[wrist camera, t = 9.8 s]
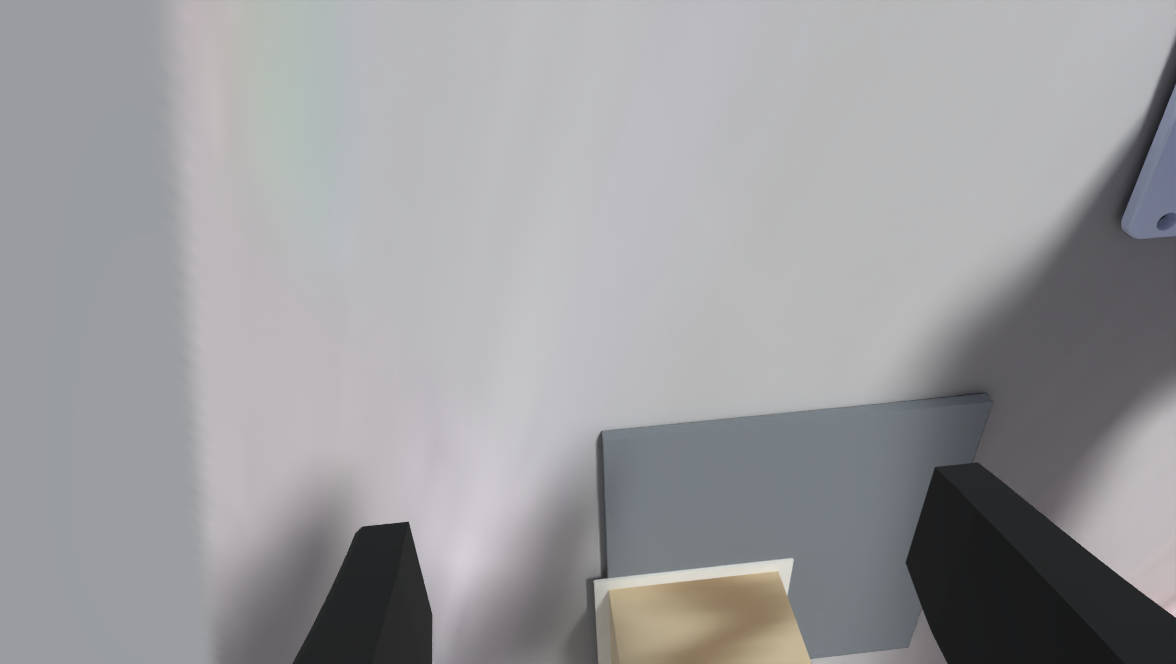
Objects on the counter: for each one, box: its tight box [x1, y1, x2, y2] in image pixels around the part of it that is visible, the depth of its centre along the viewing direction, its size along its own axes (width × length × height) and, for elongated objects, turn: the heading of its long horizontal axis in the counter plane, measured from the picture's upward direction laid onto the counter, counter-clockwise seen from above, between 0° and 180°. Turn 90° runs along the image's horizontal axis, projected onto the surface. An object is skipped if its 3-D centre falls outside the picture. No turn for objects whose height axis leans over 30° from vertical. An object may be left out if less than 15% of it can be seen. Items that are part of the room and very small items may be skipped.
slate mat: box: [594, 393, 993, 664], centre depth 28 cm, size 12×14×1 cm
